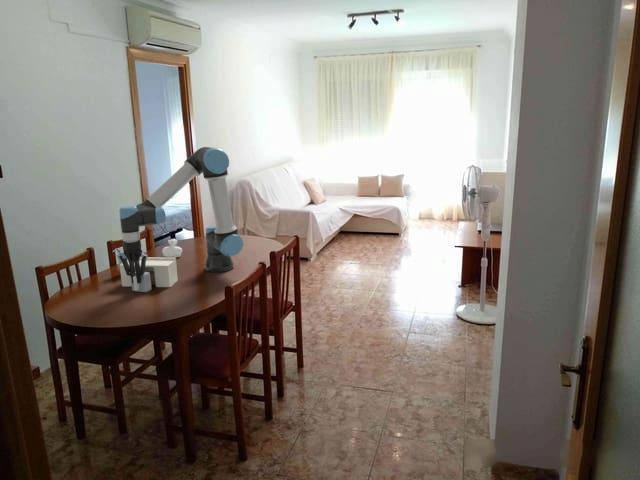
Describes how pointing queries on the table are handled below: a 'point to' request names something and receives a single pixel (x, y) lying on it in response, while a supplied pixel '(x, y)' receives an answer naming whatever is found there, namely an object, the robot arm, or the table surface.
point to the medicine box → (144, 283)
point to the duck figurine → (172, 249)
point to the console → (155, 271)
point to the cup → (119, 255)
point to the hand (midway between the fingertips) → (137, 289)
